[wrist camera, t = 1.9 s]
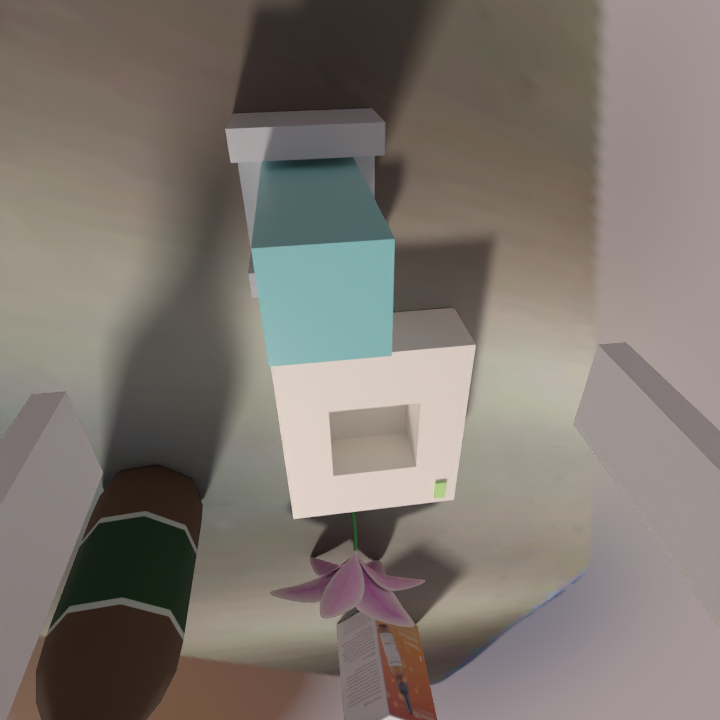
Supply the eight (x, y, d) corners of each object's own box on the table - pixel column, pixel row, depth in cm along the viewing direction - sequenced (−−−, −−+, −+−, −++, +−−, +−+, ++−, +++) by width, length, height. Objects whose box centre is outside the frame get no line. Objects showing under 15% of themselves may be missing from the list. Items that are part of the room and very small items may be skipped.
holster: (232, 113, 25) (225, 128, 21) (371, 108, 25) (385, 122, 22) (255, 266, 29) (252, 297, 26) (371, 258, 30) (383, 288, 27)
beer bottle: (211, 468, 38) (141, 940, 19) (198, 531, 42) (128, 974, 23) (102, 455, 36) (-106, 975, 17) (98, 523, 40) (-73, 1005, 21)
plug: (262, 156, 25) (251, 248, 15) (350, 152, 25) (395, 239, 16) (272, 241, 28) (268, 366, 18) (352, 236, 28) (391, 355, 18)
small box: (417, 623, 57) (442, 732, 48) (380, 644, 58) (398, 753, 50) (372, 601, 53) (390, 715, 44) (334, 624, 54) (344, 738, 46)
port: (271, 322, 32) (270, 364, 28) (454, 307, 33) (477, 346, 29) (292, 472, 40) (293, 521, 36) (438, 456, 41) (454, 502, 37)
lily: (254, 523, 44) (259, 645, 40) (334, 494, 37) (350, 641, 33) (355, 519, 52) (368, 622, 48) (439, 495, 44) (463, 615, 40)
